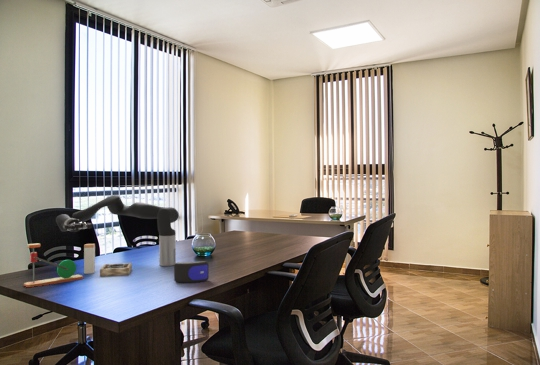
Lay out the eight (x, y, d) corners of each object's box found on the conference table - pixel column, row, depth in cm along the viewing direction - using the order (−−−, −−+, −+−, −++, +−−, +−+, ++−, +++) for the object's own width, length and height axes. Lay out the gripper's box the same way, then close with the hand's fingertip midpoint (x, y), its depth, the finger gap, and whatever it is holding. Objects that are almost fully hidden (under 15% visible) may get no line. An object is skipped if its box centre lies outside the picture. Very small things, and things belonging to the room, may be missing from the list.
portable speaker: (174, 284, 189) (174, 264, 189) (174, 282, 194) (174, 262, 194) (209, 282, 193) (209, 262, 193) (208, 280, 197) (208, 260, 198)
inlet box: (131, 269, 224) (131, 262, 224) (128, 274, 210) (128, 267, 210) (104, 270, 220) (104, 263, 220) (100, 276, 207) (99, 268, 207)
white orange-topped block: (95, 271, 219) (94, 243, 219) (93, 273, 214) (93, 244, 214) (86, 271, 218) (86, 243, 218) (84, 273, 213) (84, 245, 213)
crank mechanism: (27, 288, 183) (27, 245, 184) (23, 285, 188) (23, 244, 188) (84, 279, 201) (83, 240, 202) (78, 276, 206) (78, 239, 206)
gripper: (59, 219, 231) (68, 221, 219) (85, 217, 241) (95, 219, 229) (59, 232, 231) (68, 234, 219) (85, 230, 241) (95, 232, 229)
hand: (82, 227), depth 224 cm, fingers open, 8 cm apart
